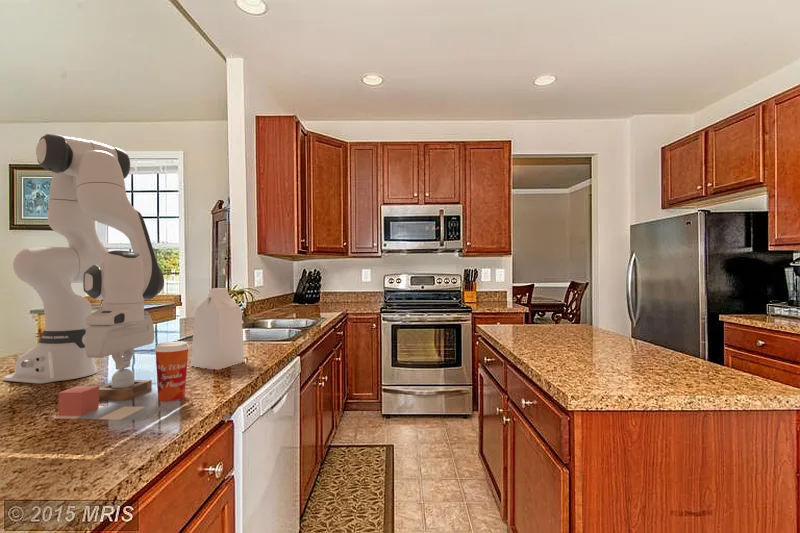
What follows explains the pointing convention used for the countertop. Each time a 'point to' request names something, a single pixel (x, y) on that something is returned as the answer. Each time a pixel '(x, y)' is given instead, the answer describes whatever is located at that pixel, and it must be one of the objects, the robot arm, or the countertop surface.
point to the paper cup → (171, 370)
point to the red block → (78, 400)
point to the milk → (217, 332)
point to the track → (118, 413)
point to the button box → (124, 390)
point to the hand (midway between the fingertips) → (122, 368)
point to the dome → (122, 378)
